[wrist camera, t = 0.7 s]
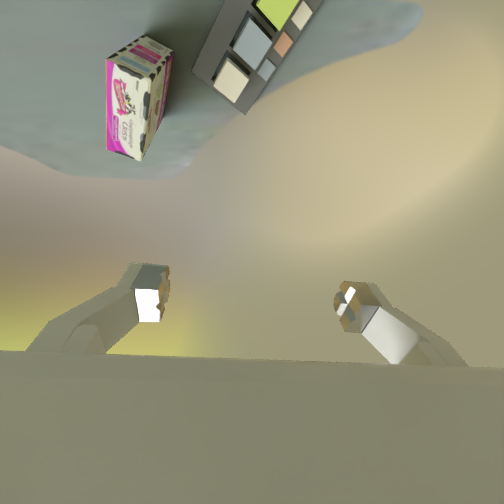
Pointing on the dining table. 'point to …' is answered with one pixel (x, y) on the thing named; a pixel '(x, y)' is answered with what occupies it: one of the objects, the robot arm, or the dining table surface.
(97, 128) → the dining table surface
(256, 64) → the key slate
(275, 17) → the lime green cube
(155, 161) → the dining table surface
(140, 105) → the candy bar box
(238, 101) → the keypad board
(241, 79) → the key ivory
